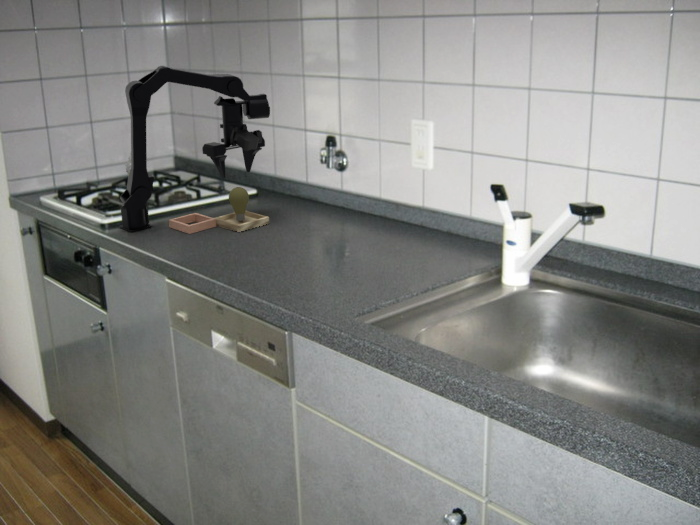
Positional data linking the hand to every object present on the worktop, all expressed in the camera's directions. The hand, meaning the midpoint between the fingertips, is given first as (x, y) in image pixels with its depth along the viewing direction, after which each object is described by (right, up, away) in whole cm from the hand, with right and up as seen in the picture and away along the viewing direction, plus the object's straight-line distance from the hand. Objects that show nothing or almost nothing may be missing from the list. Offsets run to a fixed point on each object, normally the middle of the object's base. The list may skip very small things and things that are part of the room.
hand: (236, 174), depth 222 cm
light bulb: (+2, -14, -5) cm, 15 cm away
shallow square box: (-11, -15, -7) cm, 20 cm away
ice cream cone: (-36, -4, +26) cm, 44 cm away
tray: (+2, -15, -5) cm, 15 cm away
